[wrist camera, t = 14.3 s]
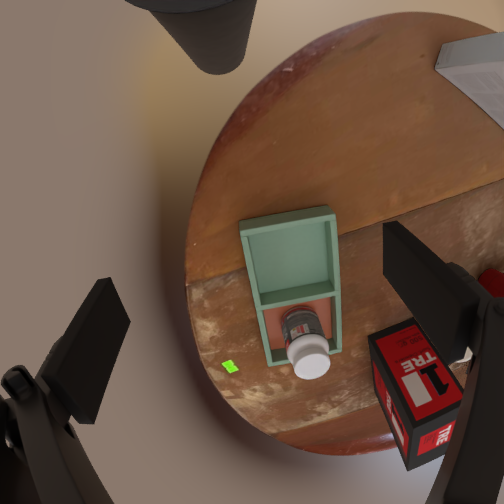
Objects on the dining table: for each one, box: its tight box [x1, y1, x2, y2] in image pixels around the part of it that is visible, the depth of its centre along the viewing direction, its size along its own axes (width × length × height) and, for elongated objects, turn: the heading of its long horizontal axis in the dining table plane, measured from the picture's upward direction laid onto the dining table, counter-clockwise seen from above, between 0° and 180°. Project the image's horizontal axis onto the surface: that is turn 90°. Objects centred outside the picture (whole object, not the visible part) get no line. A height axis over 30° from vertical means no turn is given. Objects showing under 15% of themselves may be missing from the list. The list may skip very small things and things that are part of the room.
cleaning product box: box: [368, 318, 464, 471], centre depth 45 cm, size 16×9×20 cm, turn 19°
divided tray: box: [239, 205, 342, 367], centre depth 44 cm, size 22×12×4 cm, turn 10°
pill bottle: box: [281, 306, 330, 379], centre depth 43 cm, size 6×6×10 cm
